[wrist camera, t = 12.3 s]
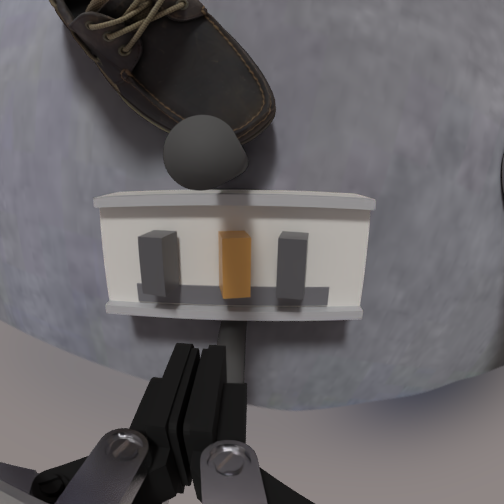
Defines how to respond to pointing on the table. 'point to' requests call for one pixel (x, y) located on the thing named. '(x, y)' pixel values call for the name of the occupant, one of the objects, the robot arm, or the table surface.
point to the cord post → (233, 348)
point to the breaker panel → (262, 251)
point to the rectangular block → (234, 264)
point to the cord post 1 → (203, 153)
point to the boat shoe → (172, 62)
